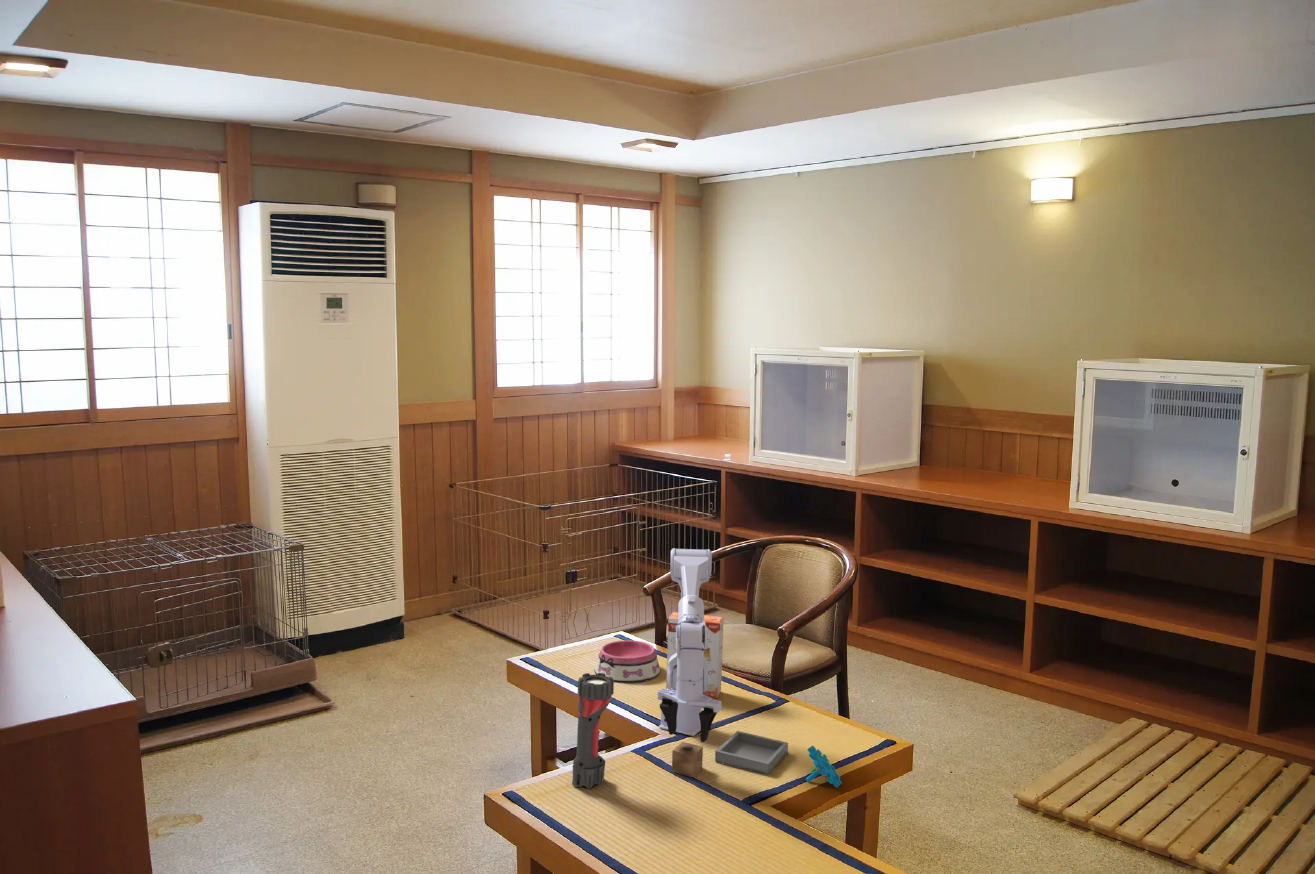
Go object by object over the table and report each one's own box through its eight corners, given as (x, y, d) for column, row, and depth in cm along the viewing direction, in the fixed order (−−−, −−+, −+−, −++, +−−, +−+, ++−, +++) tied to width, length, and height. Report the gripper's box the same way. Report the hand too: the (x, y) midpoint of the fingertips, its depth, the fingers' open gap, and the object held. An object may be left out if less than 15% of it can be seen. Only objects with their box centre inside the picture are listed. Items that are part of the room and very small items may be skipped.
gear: (843, 789, 201) (810, 751, 203) (821, 807, 202) (789, 768, 204) (845, 773, 212) (814, 737, 214) (824, 789, 213) (794, 753, 215)
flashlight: (615, 775, 209) (617, 673, 206) (605, 792, 201) (607, 686, 198) (581, 770, 210) (582, 669, 208) (570, 787, 203) (571, 682, 200)
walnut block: (671, 772, 211) (672, 750, 210) (681, 763, 215) (682, 741, 215) (692, 777, 209) (693, 755, 208) (702, 768, 213) (702, 746, 213)
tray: (715, 761, 216) (715, 751, 216) (737, 740, 227) (737, 730, 227) (767, 774, 210) (768, 764, 210) (787, 752, 222) (788, 742, 221)
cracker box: (665, 694, 255) (667, 617, 253) (670, 686, 261) (672, 610, 259) (717, 700, 252) (720, 622, 249) (721, 691, 258) (724, 615, 255)
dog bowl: (581, 670, 272) (581, 646, 271) (630, 656, 284) (631, 633, 284) (623, 689, 258) (624, 664, 258) (673, 673, 271) (674, 649, 270)
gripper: (651, 676, 209) (650, 736, 211) (712, 689, 203) (710, 750, 204) (666, 666, 216) (665, 724, 217) (726, 678, 209) (724, 738, 210)
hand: (688, 736), depth 211 cm, fingers open, 7 cm apart
